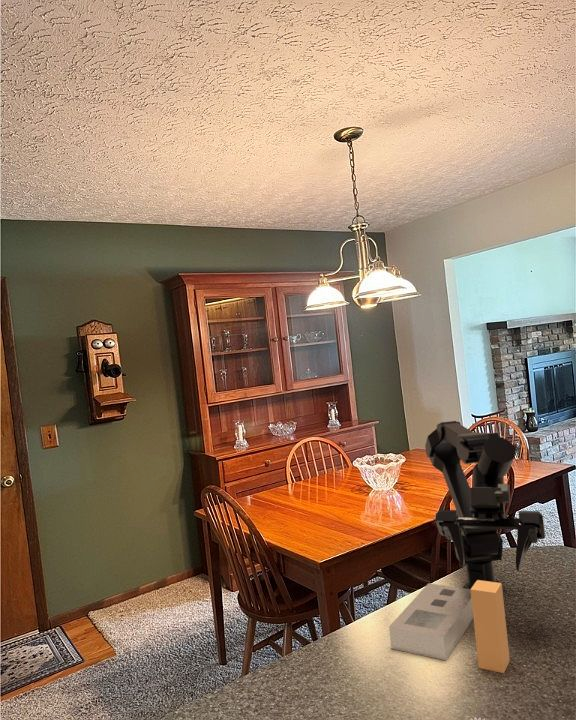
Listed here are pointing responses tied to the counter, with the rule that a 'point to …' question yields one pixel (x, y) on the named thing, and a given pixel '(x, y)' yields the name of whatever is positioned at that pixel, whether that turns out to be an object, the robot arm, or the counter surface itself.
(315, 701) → the counter surface
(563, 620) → the counter surface
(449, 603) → the white peg board
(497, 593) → the orange post
